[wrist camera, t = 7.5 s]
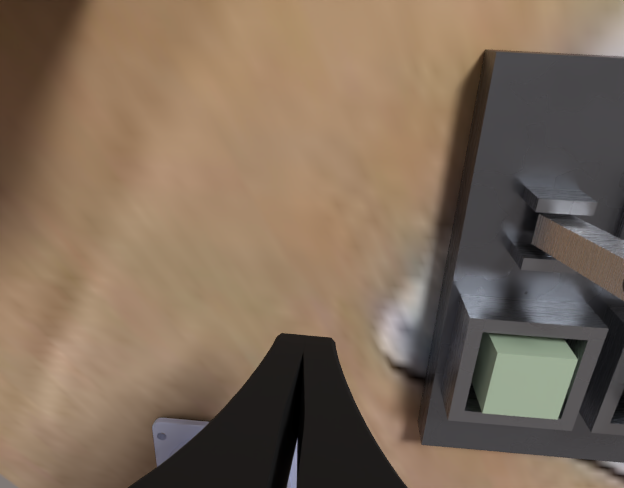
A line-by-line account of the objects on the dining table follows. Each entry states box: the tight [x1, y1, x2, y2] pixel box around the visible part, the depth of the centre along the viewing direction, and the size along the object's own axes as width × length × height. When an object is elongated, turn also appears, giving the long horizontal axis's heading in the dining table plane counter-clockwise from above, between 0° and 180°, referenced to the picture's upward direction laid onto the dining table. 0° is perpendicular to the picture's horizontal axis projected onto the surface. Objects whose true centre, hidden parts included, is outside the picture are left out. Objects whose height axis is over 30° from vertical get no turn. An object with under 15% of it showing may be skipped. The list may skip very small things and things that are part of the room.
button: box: [471, 332, 578, 420], centre depth 20 cm, size 3×3×2 cm
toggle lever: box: [531, 213, 624, 301], centre depth 16 cm, size 2×2×5 cm
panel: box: [418, 50, 624, 463], centre depth 20 cm, size 18×12×3 cm
